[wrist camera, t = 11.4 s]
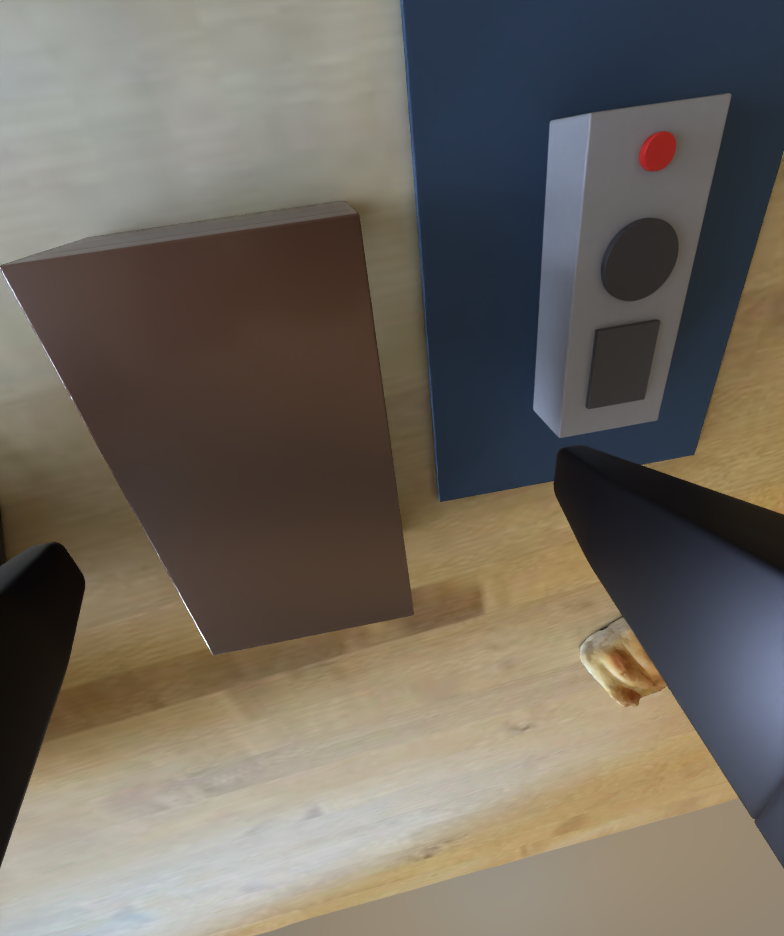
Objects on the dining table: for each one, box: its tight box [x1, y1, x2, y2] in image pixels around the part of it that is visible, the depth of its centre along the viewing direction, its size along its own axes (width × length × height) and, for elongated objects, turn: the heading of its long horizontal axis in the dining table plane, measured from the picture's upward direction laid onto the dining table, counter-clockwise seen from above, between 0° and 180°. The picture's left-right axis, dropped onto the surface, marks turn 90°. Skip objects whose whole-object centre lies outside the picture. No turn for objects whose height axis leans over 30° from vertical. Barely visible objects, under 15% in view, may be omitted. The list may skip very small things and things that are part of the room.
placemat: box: [400, 0, 784, 502], centre depth 19 cm, size 20×14×1 cm
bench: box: [0, 200, 414, 655], centre depth 18 cm, size 16×9×6 cm, turn 7°
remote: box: [533, 93, 731, 438], centre depth 18 cm, size 11×4×3 cm, turn 7°
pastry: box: [580, 617, 667, 707], centre depth 32 cm, size 9×7×4 cm
